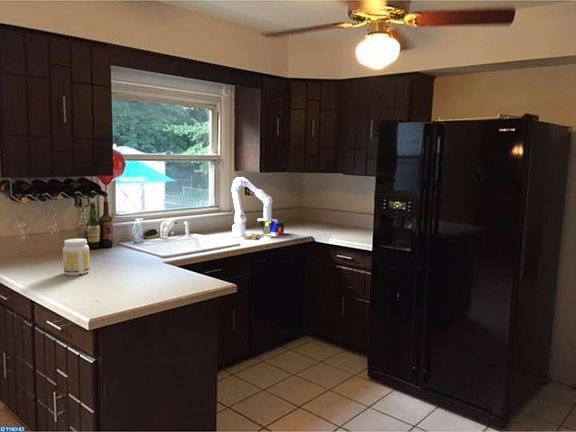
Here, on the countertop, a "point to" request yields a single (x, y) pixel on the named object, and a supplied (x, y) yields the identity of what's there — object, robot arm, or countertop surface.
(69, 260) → the supplement tub
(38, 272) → the countertop surface
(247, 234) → the collar
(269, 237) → the board
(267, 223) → the puzzle toy
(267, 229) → the block
